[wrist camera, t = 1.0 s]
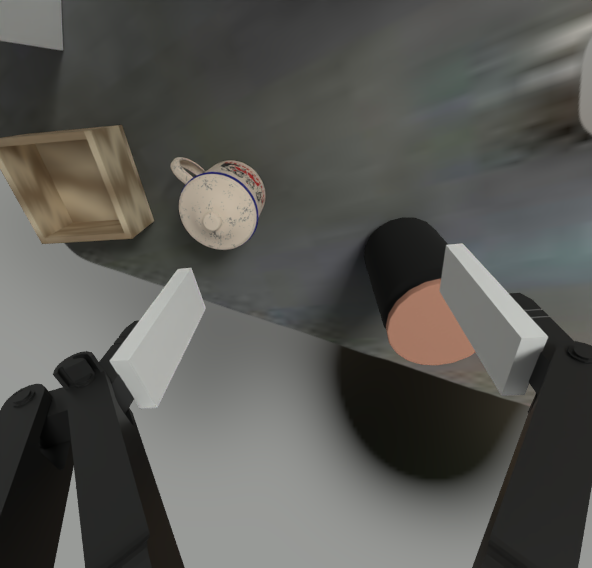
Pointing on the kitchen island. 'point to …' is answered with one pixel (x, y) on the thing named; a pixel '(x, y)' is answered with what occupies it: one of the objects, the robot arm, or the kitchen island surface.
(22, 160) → the holder
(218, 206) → the teacup with lid
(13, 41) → the milk
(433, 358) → the coffee jar
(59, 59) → the kitchen island surface
